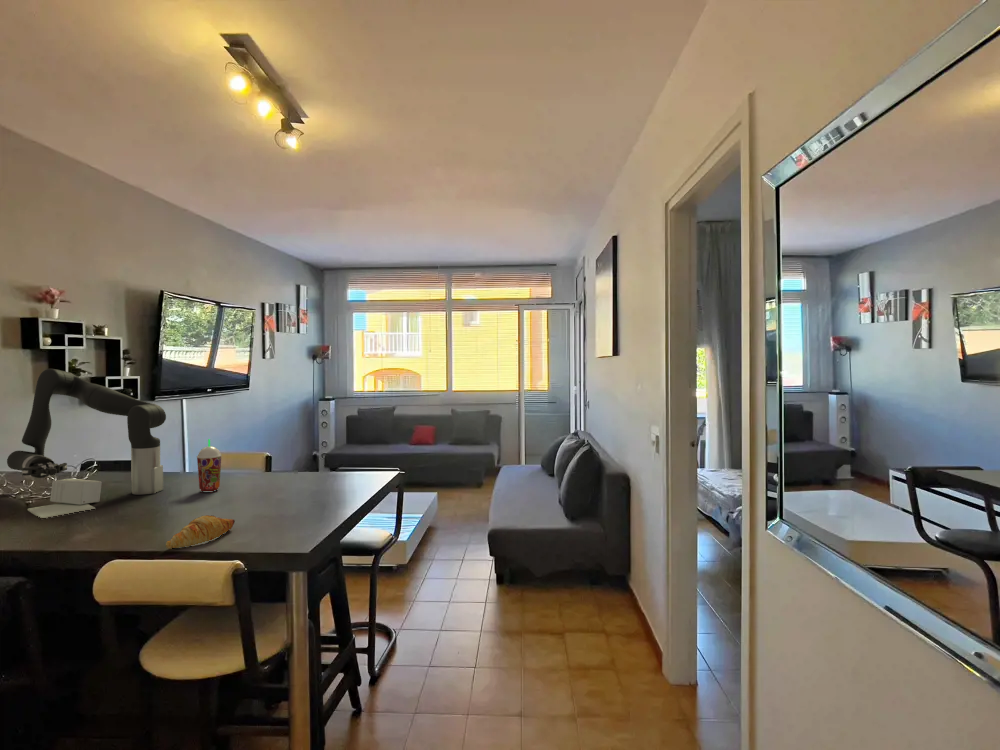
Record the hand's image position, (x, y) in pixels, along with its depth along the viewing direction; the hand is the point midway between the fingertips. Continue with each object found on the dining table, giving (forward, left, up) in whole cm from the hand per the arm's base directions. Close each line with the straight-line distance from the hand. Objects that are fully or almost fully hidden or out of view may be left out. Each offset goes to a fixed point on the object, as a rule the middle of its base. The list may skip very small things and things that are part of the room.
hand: (52, 472), depth 184 cm
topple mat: (-7, +6, -12) cm, 15 cm away
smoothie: (-44, -17, -12) cm, 49 cm away
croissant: (-66, +40, -12) cm, 78 cm away
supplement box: (0, -3, -7) cm, 8 cm away
